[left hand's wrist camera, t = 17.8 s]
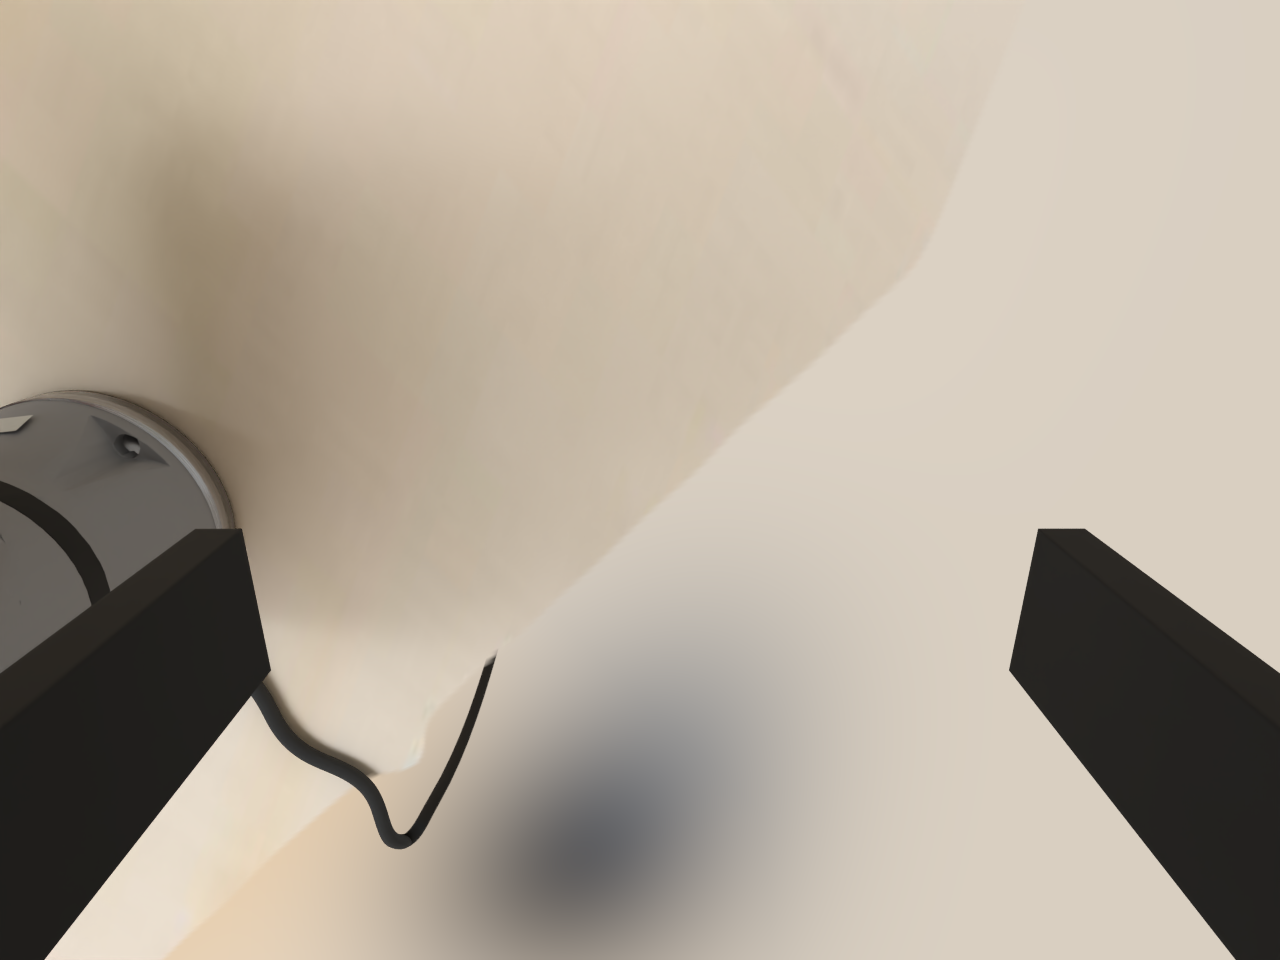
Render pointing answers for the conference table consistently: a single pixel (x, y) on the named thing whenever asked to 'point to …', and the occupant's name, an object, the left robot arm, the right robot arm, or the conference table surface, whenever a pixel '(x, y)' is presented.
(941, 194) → the conference table surface
